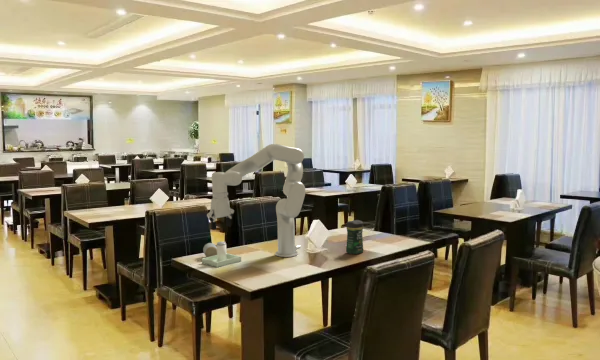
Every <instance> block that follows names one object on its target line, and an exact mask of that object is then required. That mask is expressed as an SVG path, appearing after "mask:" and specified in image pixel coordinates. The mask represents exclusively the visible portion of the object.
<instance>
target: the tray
mask: <svg viewBox="0 0 600 360" xmlns="http://www.w3.org/2000/svg"><path fill="white" fill-rule="evenodd" d="M239 262H242V256H240V255H235V254H233V253H232V254H231V253H227V260H223V261H219V262H217V255H215V256H211V257H206V256H205V257H203V258H201V263H202V264H203V265H206V264H207V265H206V266H211V267H214V268H220V267H224V266H225V267H226V266H229V265H233V264H236V263H239Z"/></svg>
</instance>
